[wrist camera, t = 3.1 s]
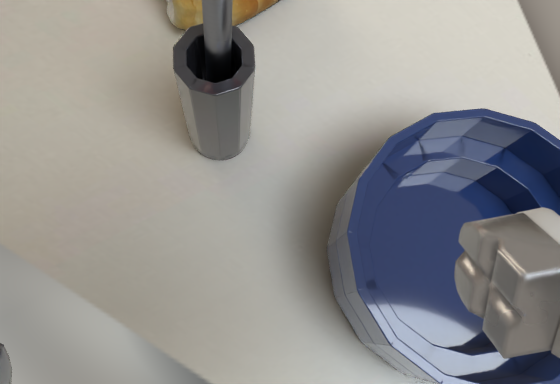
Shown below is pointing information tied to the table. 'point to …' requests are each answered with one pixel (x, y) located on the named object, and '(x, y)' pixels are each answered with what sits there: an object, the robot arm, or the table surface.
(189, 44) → the cup
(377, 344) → the bowl
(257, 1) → the pastry
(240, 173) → the table surface
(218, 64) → the baster
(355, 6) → the table surface
